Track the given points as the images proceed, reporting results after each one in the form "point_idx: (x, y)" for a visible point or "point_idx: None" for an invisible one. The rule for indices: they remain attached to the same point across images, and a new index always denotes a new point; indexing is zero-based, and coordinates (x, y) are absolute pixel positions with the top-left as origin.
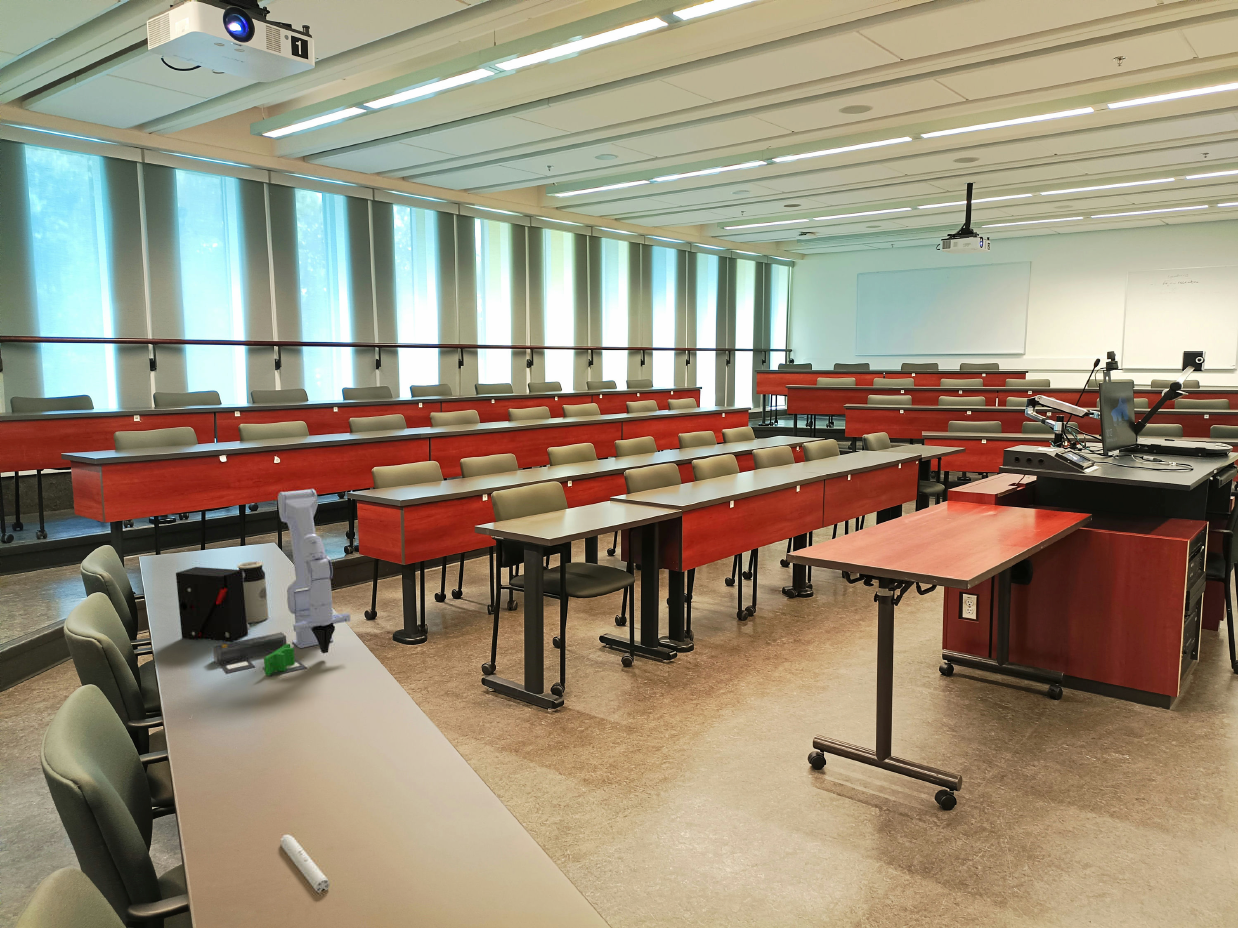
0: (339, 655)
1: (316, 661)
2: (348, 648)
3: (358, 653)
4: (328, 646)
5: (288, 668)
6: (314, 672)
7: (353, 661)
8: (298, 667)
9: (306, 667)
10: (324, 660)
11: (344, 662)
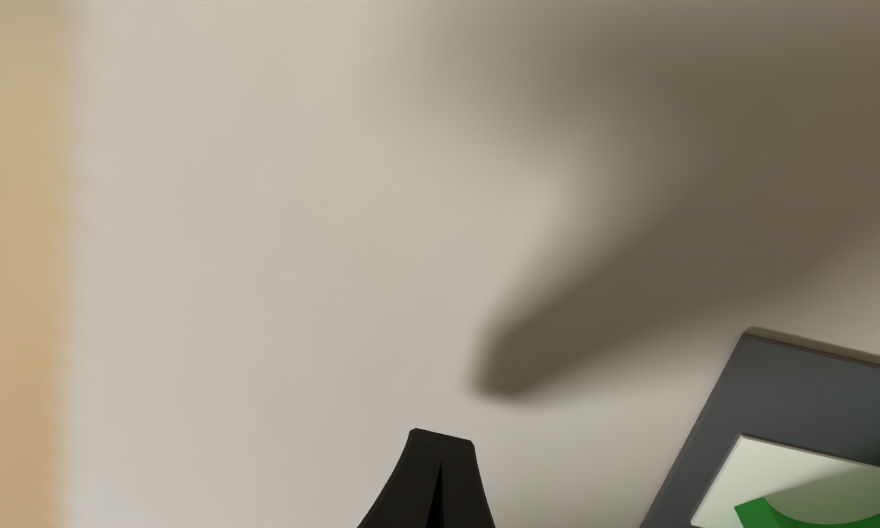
0: (287, 379)
1: (539, 417)
2: (142, 464)
3: (105, 271)
4: (398, 475)
5: (859, 460)
6: (814, 120)
7: (251, 66)
8: (787, 406)
9: (746, 338)
10: (470, 379)
11: (351, 134)
